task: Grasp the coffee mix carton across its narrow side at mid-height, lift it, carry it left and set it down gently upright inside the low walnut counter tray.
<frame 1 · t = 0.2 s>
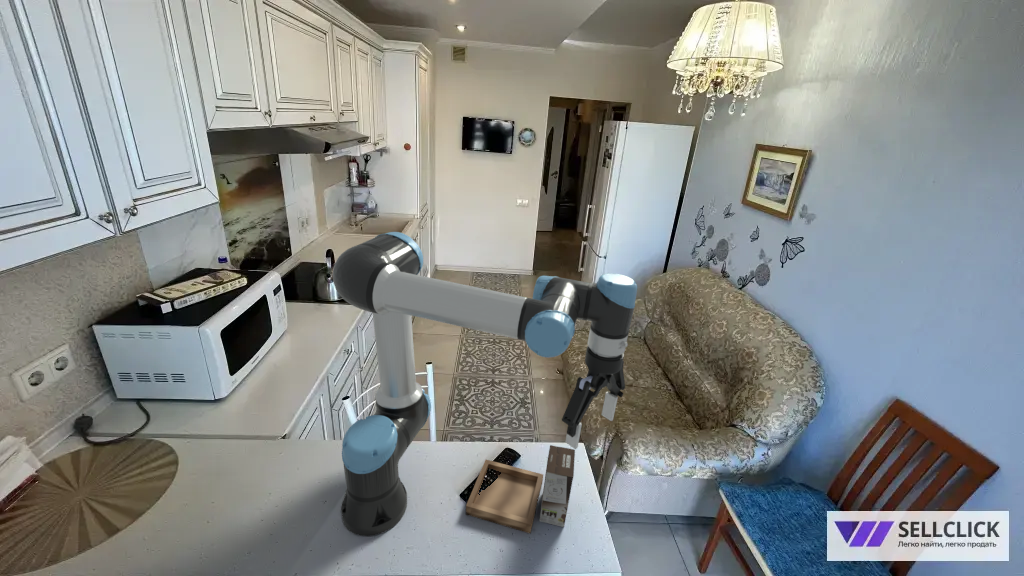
hand: (590, 430, 91), 27 cm above the countertop, fingers open, 13 cm apart
caddy: (505, 497, 104), on the countertop
coffee box: (553, 509, 102), on the countertop
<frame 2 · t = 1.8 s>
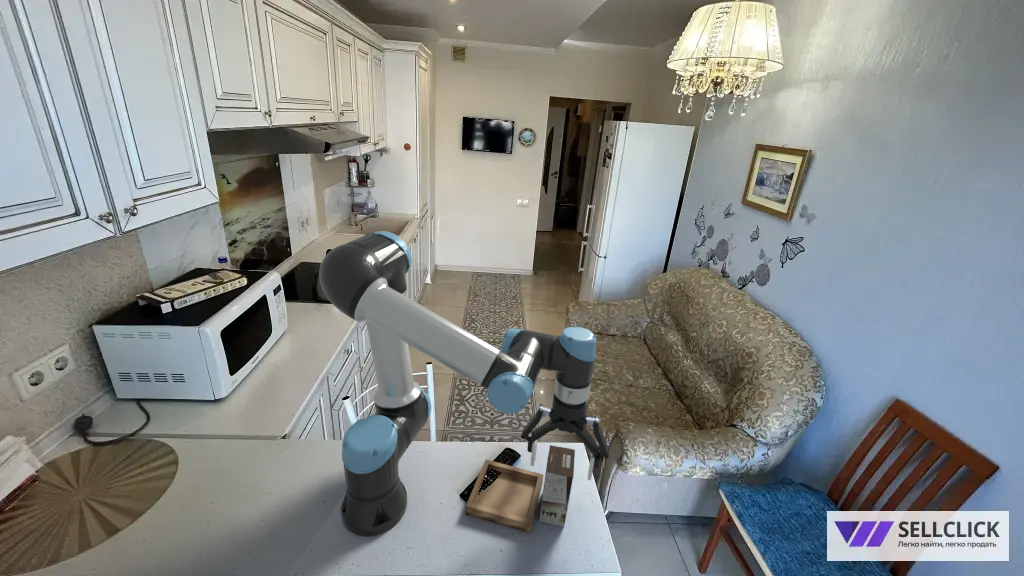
hand: (560, 468, 96), 14 cm above the countertop, fingers open, 13 cm apart
nothing on the countertop moved.
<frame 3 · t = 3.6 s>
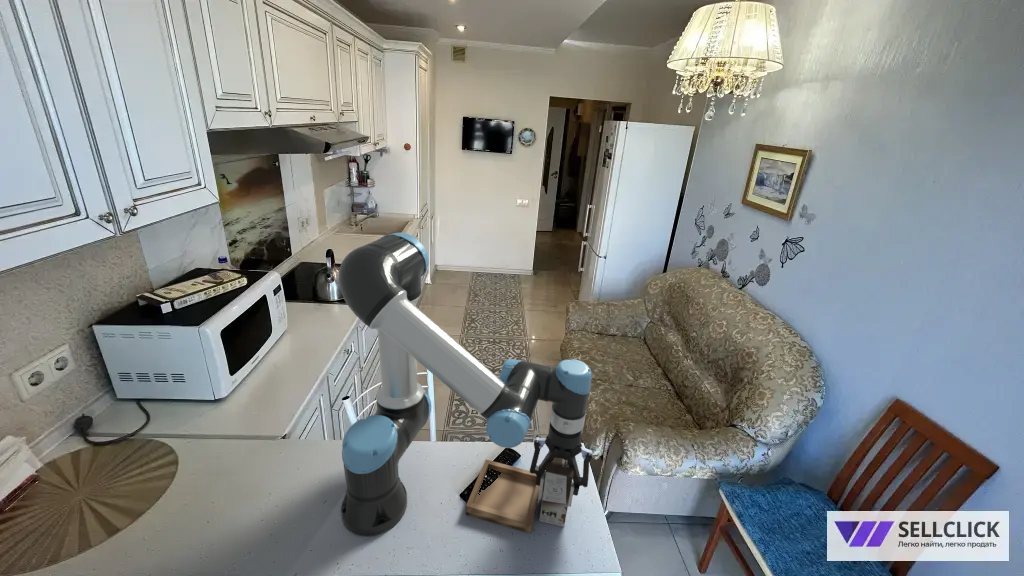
hand: (555, 497, 100), 4 cm above the countertop, fingers closed on coffee box, 7 cm apart
coffee box: (553, 509, 102), on the countertop, touching gripper
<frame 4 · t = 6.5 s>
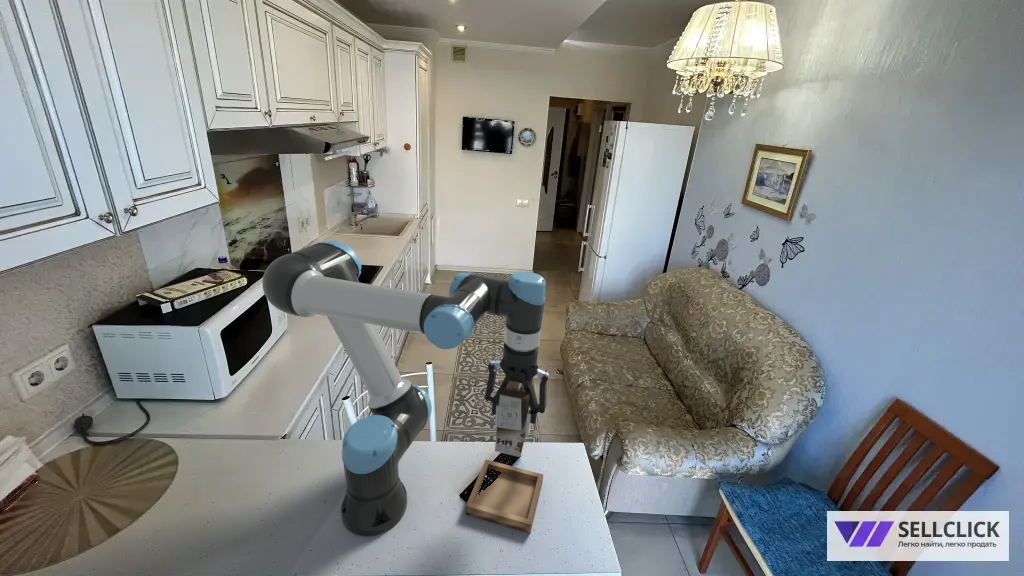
hand: (512, 428, 95), 23 cm above the countertop, fingers closed on coffee box, 7 cm apart
coffee box: (511, 441, 97), point 18 cm above the countertop, touching gripper
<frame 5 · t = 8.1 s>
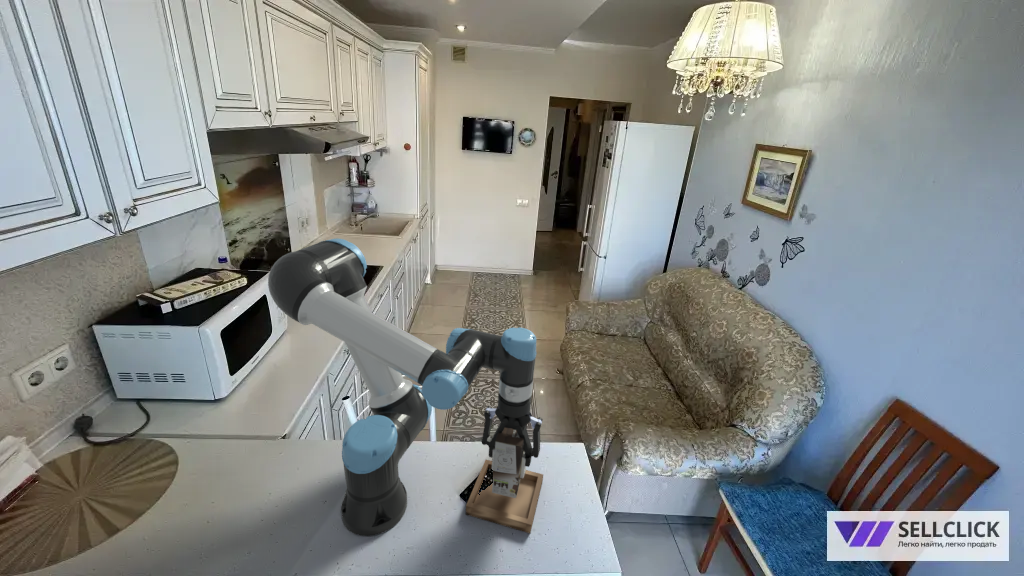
hand: (508, 470, 100), 10 cm above the countertop, fingers closed on coffee box, 7 cm apart
coffee box: (508, 481, 102), point 5 cm above the countertop, touching gripper
when the fingers open (5 cm above the countertop, at t = 9.4 s): coffee box stays where it is, resting on caddy.
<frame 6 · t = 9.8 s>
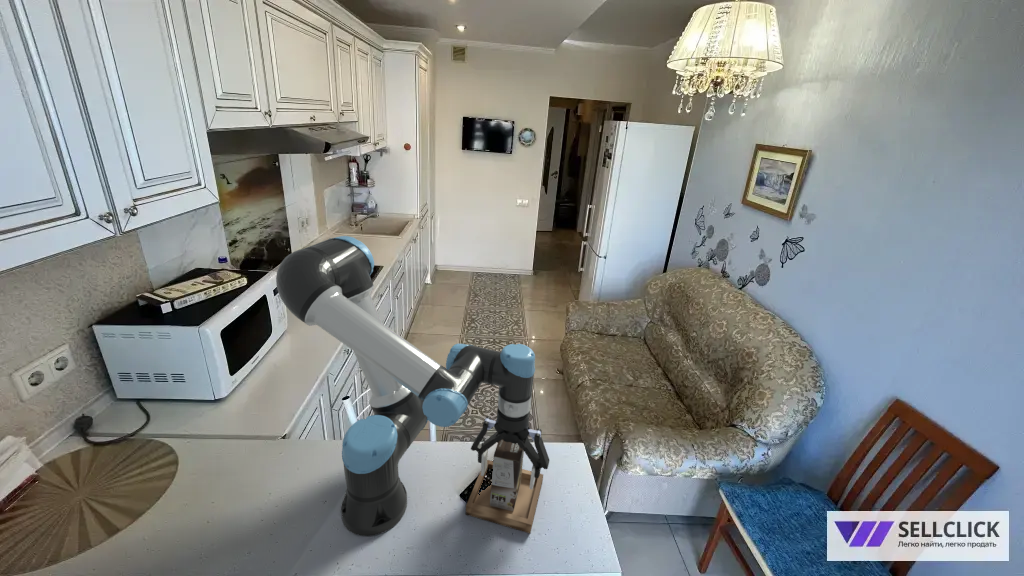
hand: (507, 478, 101), 7 cm above the countertop, fingers open, 12 cm apart
coffee box: (505, 494, 104), point 1 cm above the countertop, touching caddy
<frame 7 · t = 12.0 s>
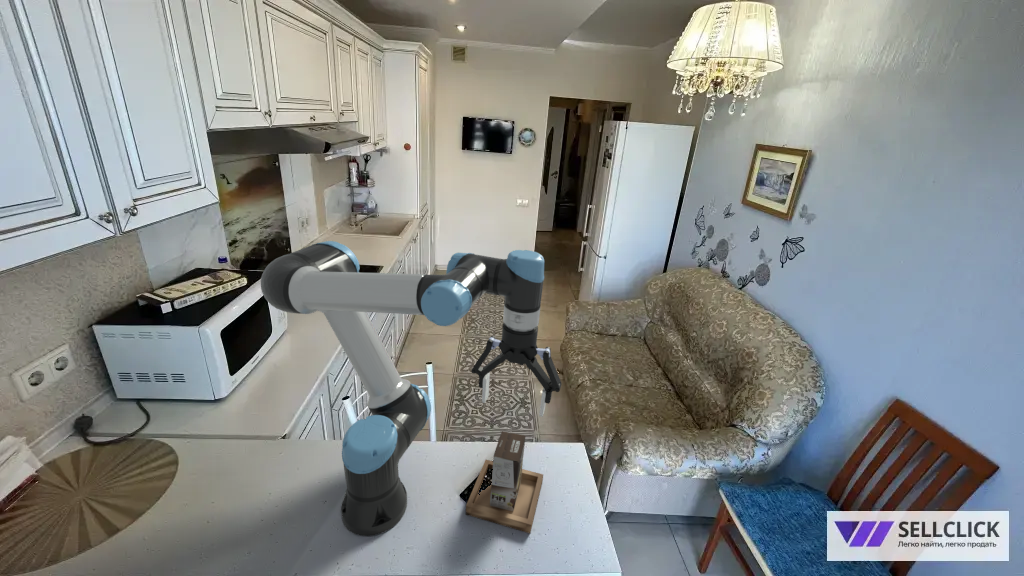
hand: (513, 405, 93), 29 cm above the countertop, fingers open, 13 cm apart
nothing on the countertop moved.
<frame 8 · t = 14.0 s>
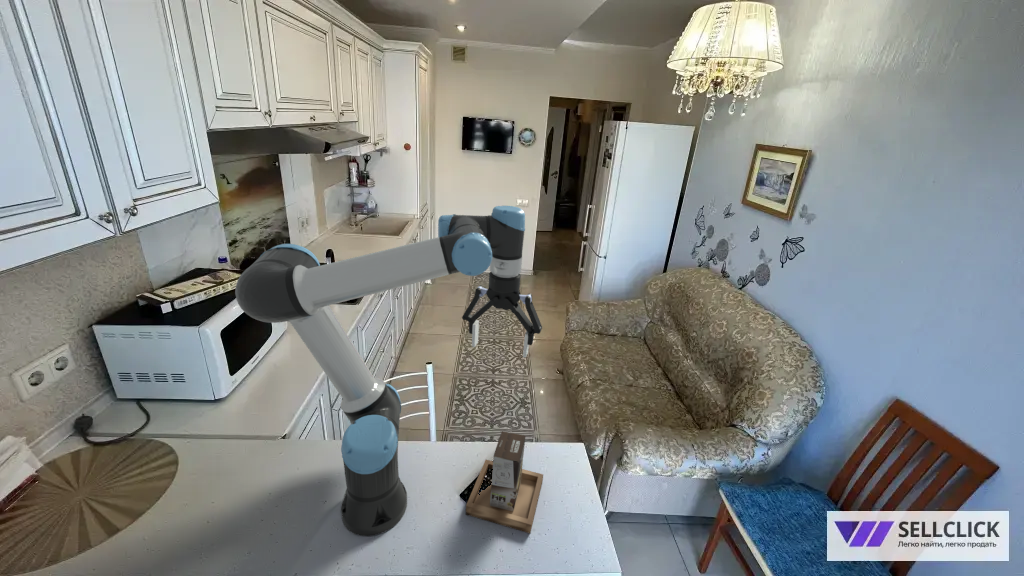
hand: (499, 349, 104), 35 cm above the countertop, fingers open, 13 cm apart
nothing on the countertop moved.
at the end: coffee box inside the target area on the caddy (0.4 cm from its centre), point 0.8 cm above the caddy's base; coffee box tilted 0°; the gripper is holding nothing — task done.
